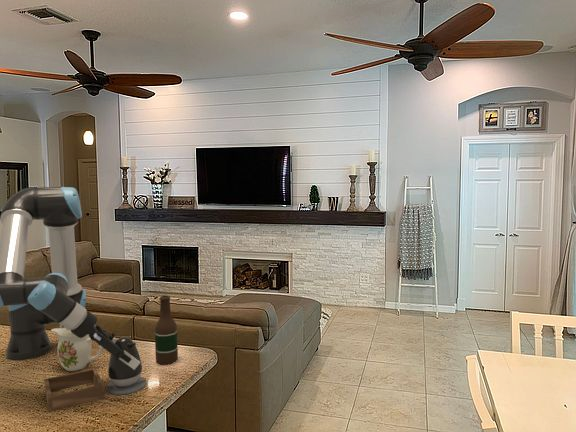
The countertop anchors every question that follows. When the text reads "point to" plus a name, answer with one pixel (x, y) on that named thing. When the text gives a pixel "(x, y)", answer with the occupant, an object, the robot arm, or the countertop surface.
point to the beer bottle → (166, 335)
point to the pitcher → (74, 350)
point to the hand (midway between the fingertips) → (131, 358)
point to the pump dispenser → (124, 365)
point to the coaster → (126, 390)
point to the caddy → (73, 396)
